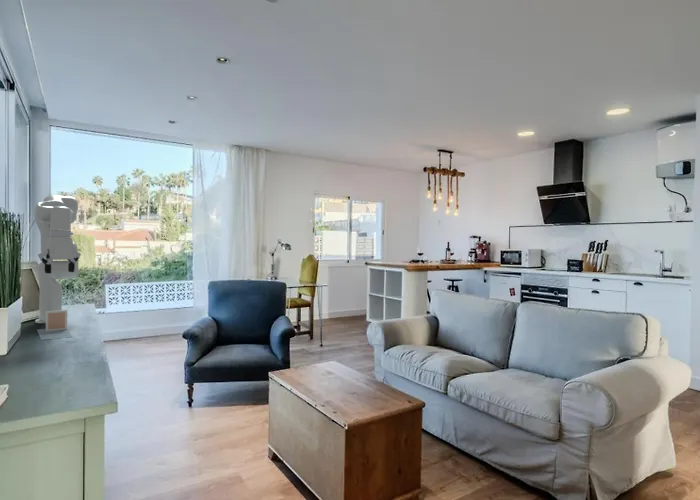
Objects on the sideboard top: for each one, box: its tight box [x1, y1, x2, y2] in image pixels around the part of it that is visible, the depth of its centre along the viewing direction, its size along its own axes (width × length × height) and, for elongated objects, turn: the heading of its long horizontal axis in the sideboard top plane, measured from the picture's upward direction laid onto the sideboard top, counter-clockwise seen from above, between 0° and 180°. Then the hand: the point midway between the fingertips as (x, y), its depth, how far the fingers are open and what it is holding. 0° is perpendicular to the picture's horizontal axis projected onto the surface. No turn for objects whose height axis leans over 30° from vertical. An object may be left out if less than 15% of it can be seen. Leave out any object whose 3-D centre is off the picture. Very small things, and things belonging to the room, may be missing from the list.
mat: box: [36, 328, 73, 341], centre depth 187 cm, size 24×11×1 cm, turn 41°
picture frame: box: [45, 309, 68, 331], centre depth 193 cm, size 2×8×9 cm, turn 131°
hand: (59, 272), depth 184 cm, fingers open, 9 cm apart
